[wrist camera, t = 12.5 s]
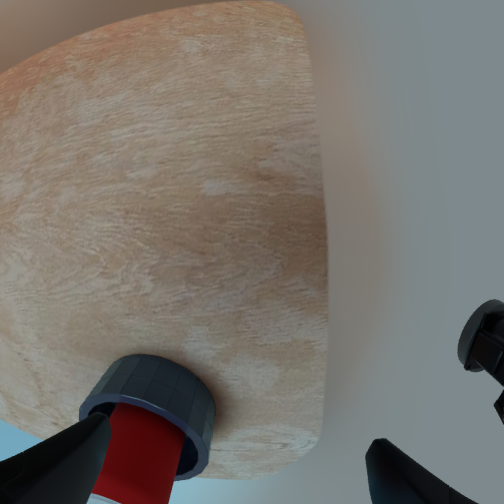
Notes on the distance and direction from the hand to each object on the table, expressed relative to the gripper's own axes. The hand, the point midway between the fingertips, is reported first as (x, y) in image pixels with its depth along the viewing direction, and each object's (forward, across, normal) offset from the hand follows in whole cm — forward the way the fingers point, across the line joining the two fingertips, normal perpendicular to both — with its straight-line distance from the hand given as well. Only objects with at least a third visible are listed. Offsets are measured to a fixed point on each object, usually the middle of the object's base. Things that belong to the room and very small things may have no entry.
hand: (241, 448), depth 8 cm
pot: (+13, +7, +11) cm, 18 cm away
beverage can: (+13, +7, +11) cm, 18 cm away
